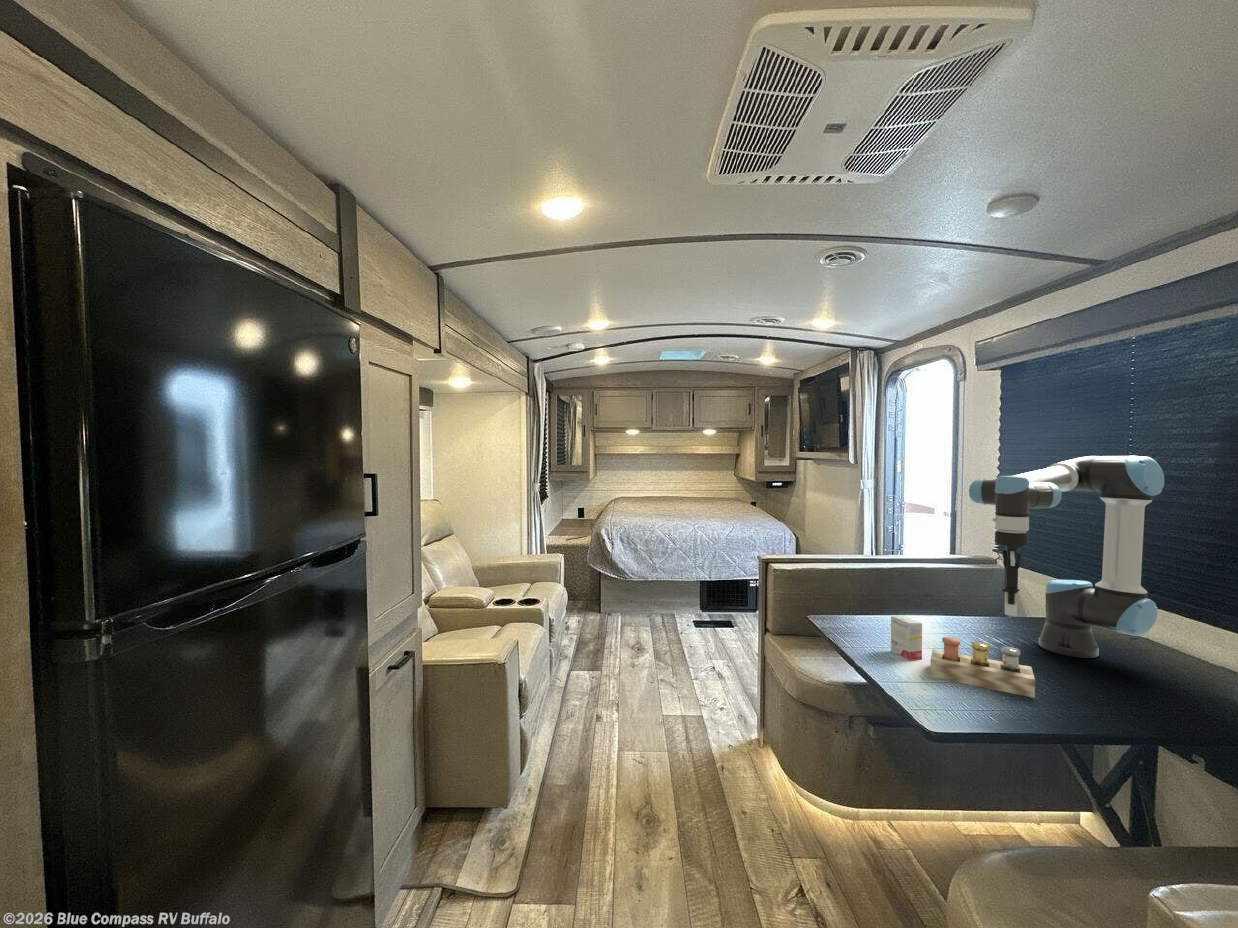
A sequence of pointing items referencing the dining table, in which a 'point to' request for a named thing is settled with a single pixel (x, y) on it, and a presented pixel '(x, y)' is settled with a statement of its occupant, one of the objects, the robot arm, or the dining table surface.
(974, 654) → the plunger brass
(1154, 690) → the dining table surface
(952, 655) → the plunger terracotta
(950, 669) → the plunger block
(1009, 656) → the plunger grey
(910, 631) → the ink box
